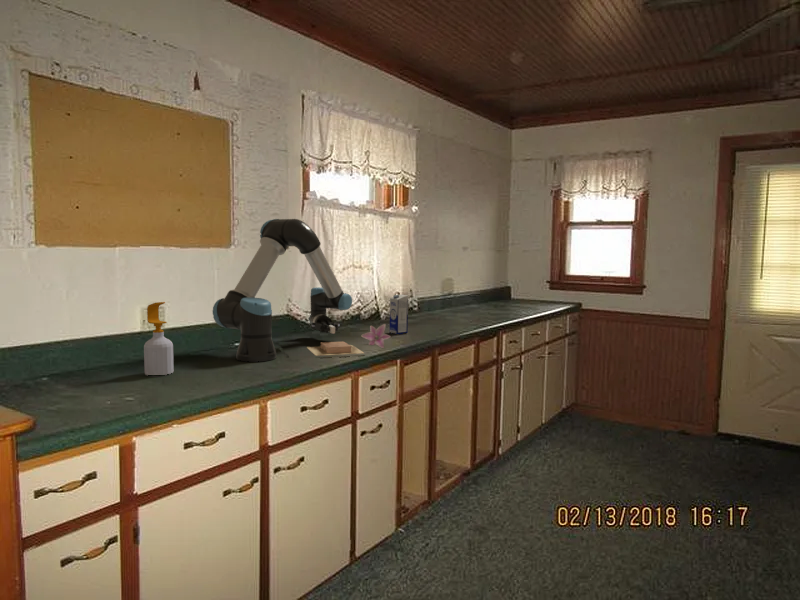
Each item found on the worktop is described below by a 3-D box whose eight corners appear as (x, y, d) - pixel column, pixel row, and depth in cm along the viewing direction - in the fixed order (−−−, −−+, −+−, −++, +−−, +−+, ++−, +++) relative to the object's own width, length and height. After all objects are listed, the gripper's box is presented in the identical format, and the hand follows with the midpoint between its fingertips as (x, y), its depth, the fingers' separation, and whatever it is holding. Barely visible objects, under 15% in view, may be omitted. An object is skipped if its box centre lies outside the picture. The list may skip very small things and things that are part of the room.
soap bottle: (155, 377, 184) (153, 303, 182) (139, 374, 189) (137, 302, 187) (179, 372, 192) (177, 301, 190) (162, 369, 197) (161, 300, 195)
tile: (320, 348, 235) (326, 353, 224) (320, 342, 235) (326, 347, 224) (343, 347, 239) (351, 352, 227) (343, 341, 238) (351, 346, 227)
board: (315, 358, 220) (315, 355, 220) (306, 349, 239) (306, 347, 239) (364, 356, 227) (364, 353, 227) (351, 347, 246) (351, 344, 245)
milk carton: (407, 333, 288) (408, 295, 286) (396, 334, 284) (397, 295, 282) (400, 331, 294) (400, 294, 292) (389, 332, 290) (389, 294, 288)
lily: (358, 348, 251) (358, 331, 245) (373, 335, 259) (374, 318, 253) (379, 359, 245) (380, 342, 240) (395, 345, 253) (396, 329, 248)
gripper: (336, 330, 261) (348, 338, 239) (308, 331, 257) (318, 339, 234) (336, 314, 260) (348, 321, 238) (308, 315, 256) (318, 322, 234)
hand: (333, 330), depth 236 cm, fingers closed
